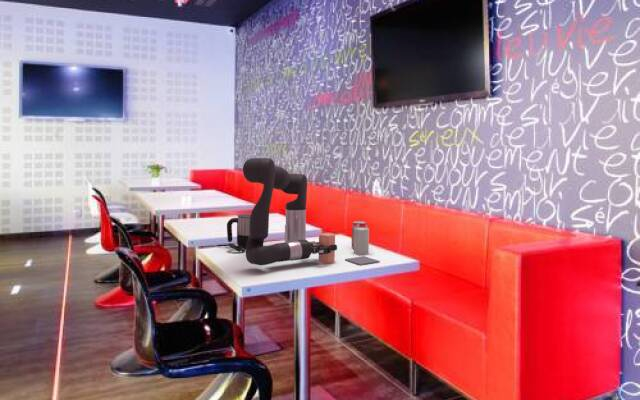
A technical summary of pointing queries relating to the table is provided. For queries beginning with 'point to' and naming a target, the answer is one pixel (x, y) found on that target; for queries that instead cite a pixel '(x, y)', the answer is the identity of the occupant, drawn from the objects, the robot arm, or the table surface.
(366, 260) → the mat
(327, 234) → the cup terracotta
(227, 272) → the table surface
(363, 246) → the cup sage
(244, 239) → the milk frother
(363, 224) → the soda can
